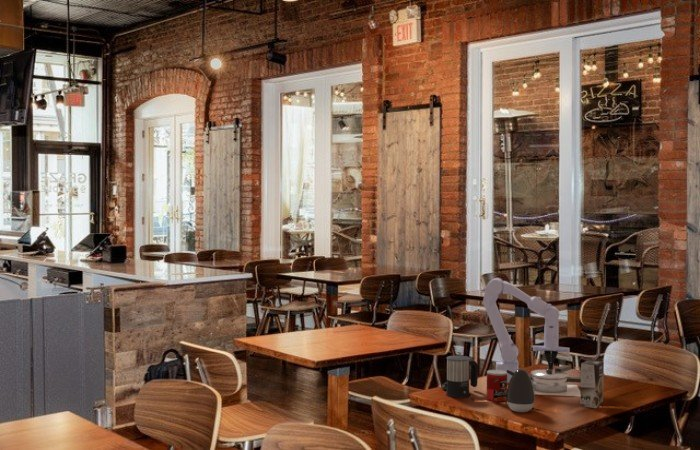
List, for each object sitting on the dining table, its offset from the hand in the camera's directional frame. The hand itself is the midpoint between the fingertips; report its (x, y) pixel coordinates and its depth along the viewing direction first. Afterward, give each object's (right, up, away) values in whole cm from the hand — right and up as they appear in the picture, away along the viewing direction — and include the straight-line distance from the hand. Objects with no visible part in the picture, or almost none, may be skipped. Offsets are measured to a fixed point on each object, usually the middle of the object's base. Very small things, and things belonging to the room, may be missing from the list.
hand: (550, 369), depth 339 cm
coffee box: (+8, -8, -30) cm, 32 cm away
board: (-1, -7, -9) cm, 12 cm away
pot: (0, -6, -9) cm, 11 cm away
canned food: (-27, -8, -25) cm, 37 cm away
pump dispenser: (-21, -8, -40) cm, 46 cm away
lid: (0, -1, -6) cm, 6 cm away
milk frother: (-41, -7, -13) cm, 44 cm away
